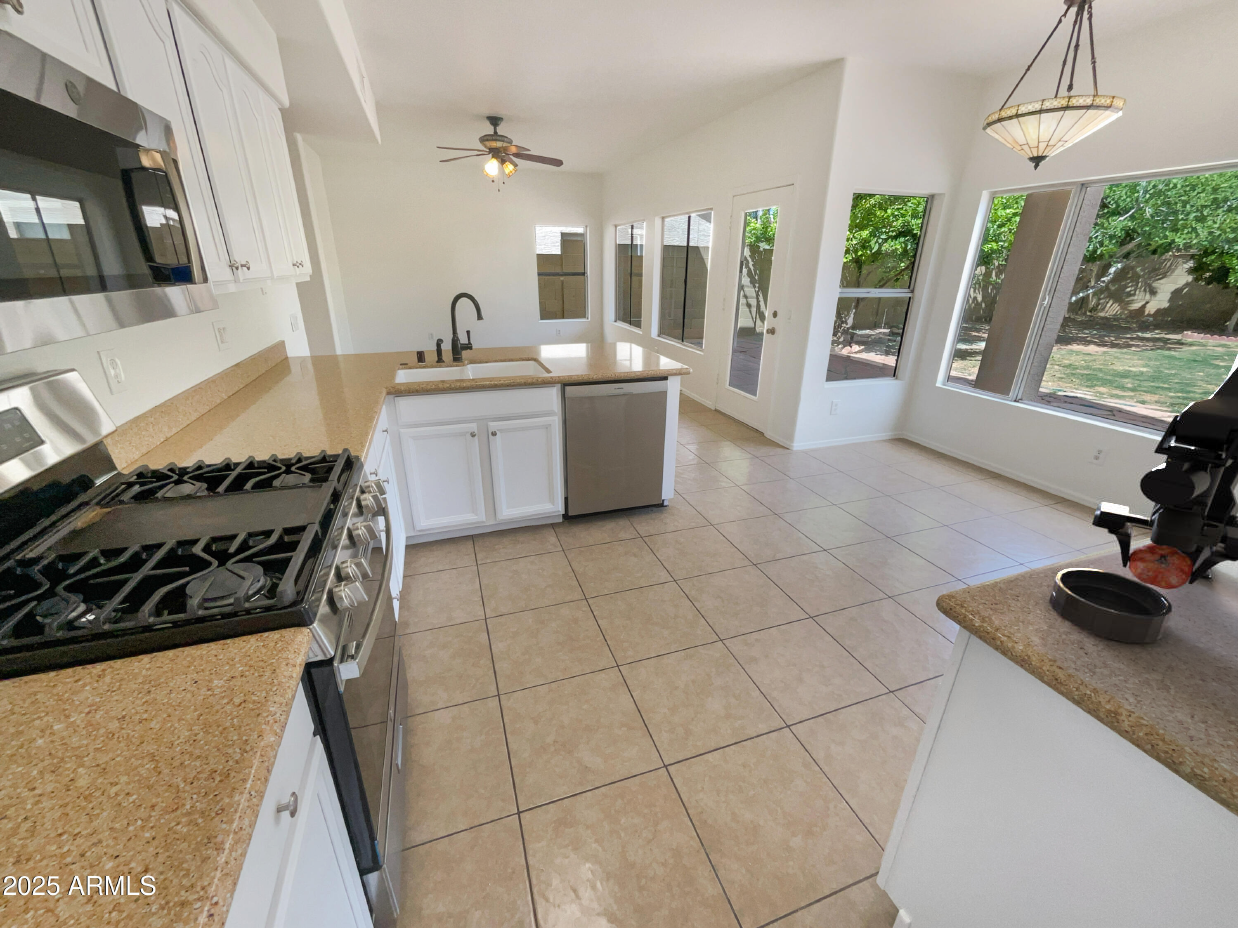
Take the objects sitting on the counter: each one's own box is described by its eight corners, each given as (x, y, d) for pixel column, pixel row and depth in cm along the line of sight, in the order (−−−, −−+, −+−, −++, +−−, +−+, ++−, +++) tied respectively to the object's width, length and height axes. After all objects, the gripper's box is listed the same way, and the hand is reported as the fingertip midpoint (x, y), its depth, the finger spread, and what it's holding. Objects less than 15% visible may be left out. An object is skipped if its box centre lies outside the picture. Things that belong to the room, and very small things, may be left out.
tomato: (1120, 578, 91) (1114, 563, 85) (1145, 544, 90) (1141, 527, 84) (1176, 603, 85) (1173, 589, 79) (1203, 567, 84) (1203, 550, 78)
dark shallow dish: (1055, 584, 90) (1062, 559, 88) (1162, 615, 81) (1172, 588, 79) (1042, 619, 81) (1050, 592, 79) (1160, 658, 72) (1171, 629, 70)
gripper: (1101, 490, 81) (1076, 574, 86) (1288, 524, 68) (1245, 620, 74) (1108, 470, 88) (1084, 549, 94) (1278, 498, 76) (1239, 587, 81)
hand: (1155, 574), depth 85 cm, fingers closed on tomato, 7 cm apart
